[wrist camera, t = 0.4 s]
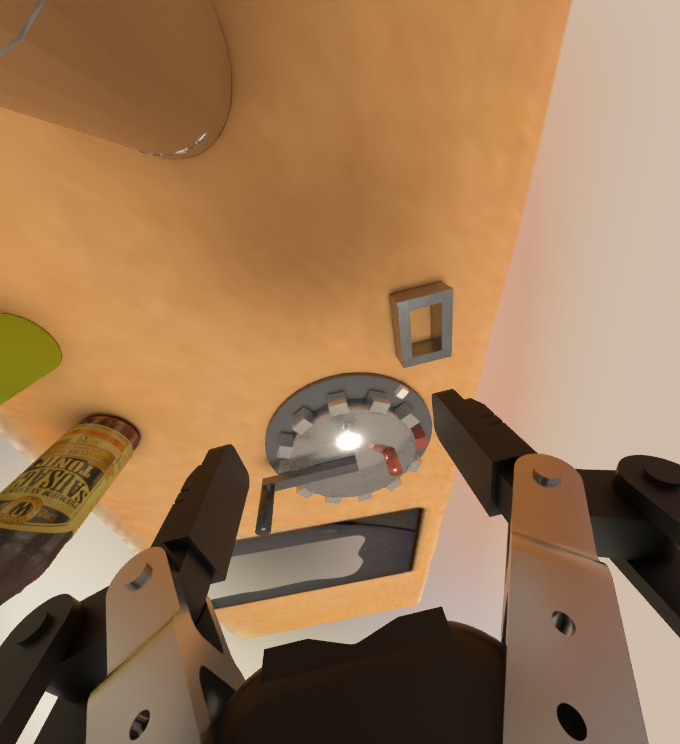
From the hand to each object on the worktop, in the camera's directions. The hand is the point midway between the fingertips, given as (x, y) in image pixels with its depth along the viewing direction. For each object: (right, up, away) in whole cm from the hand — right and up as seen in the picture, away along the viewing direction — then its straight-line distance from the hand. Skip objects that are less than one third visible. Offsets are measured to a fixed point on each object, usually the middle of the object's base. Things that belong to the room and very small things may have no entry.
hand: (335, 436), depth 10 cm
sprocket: (0, -8, +24) cm, 25 cm away
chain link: (+8, +8, +16) cm, 20 cm away
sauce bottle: (-26, -4, +19) cm, 33 cm away
